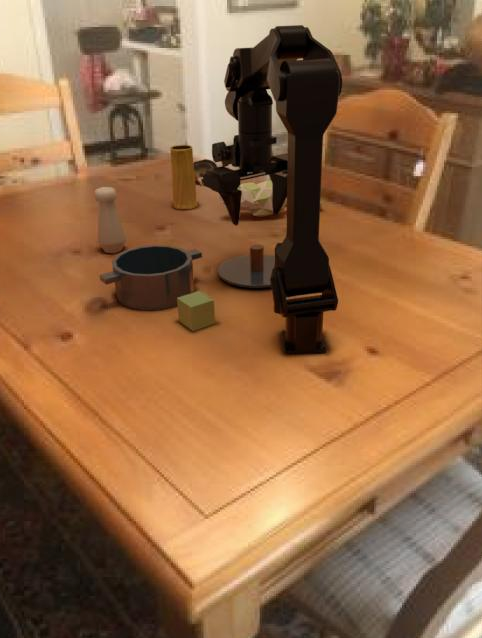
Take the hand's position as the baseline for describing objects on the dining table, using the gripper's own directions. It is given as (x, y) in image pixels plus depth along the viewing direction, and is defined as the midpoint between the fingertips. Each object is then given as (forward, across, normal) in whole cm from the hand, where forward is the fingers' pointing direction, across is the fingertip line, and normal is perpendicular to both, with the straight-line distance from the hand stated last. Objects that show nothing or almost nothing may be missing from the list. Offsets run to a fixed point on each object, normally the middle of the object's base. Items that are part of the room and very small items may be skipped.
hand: (255, 219), depth 114 cm
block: (+11, +20, +10) cm, 24 cm away
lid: (+10, 0, 0) cm, 10 cm away
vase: (+11, -11, -45) cm, 47 cm away
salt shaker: (+11, +16, -29) cm, 35 cm away
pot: (+11, +20, -5) cm, 23 cm away
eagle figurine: (+11, -25, -60) cm, 65 cm away
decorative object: (+11, -24, -26) cm, 37 cm away
